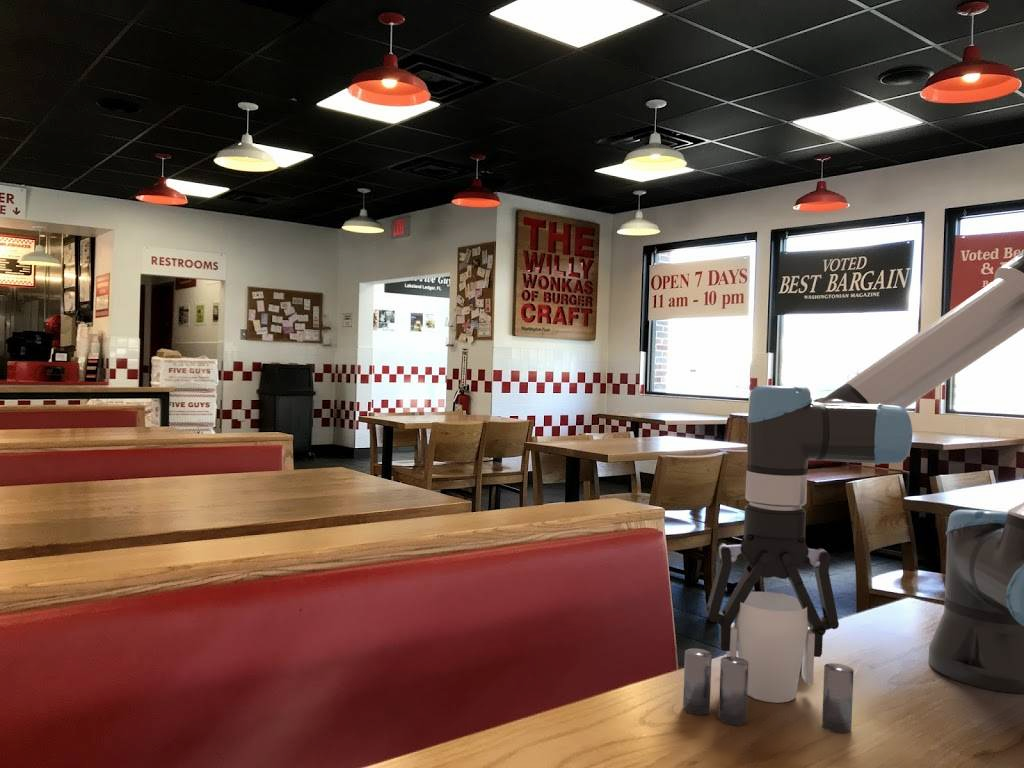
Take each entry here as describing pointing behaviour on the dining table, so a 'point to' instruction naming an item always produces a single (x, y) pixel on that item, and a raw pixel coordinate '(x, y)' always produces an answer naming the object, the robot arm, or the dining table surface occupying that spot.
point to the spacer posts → (736, 687)
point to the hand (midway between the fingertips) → (768, 677)
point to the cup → (772, 644)
